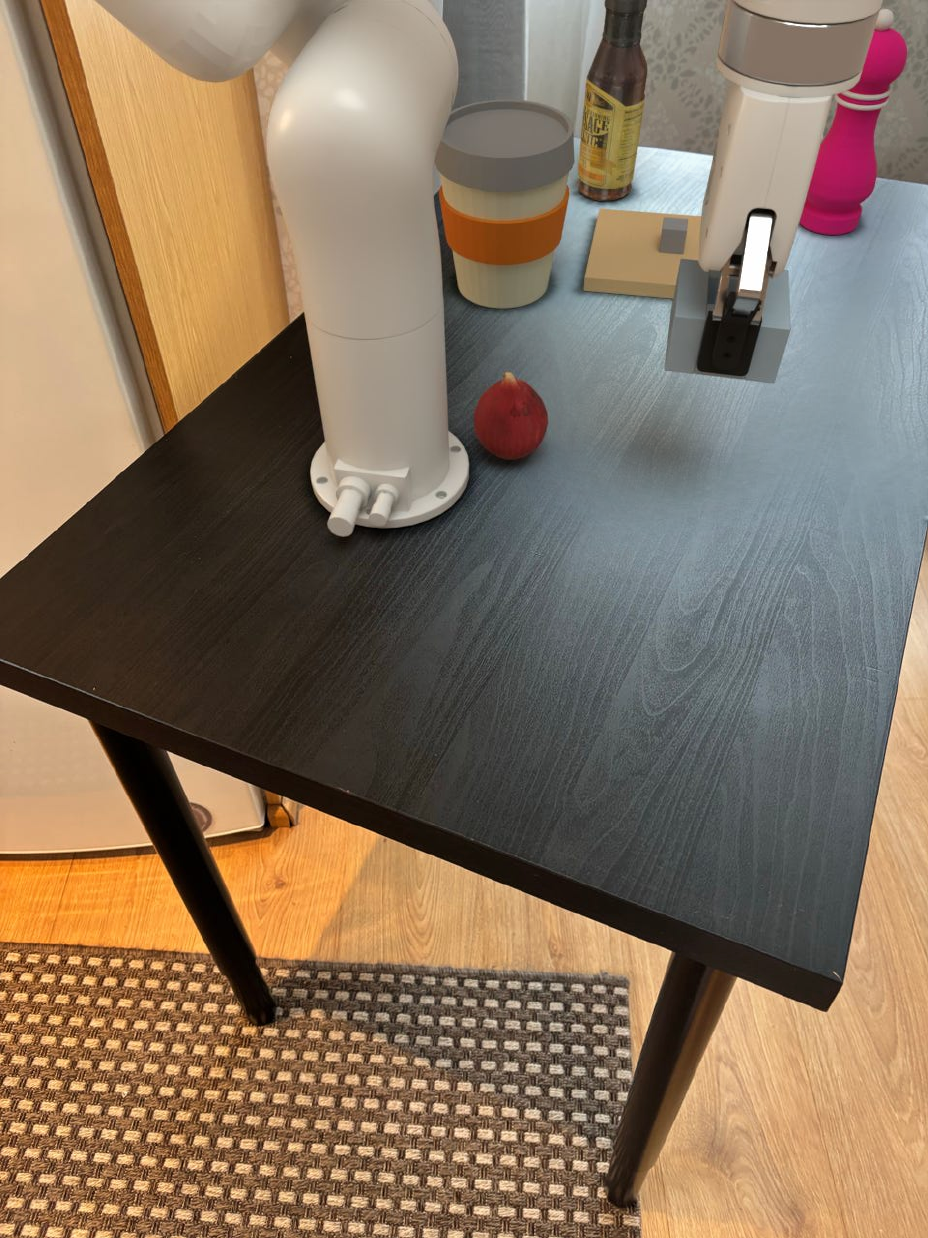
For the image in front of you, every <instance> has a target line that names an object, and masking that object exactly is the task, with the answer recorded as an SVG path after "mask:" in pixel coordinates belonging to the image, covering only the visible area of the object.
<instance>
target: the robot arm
mask: <svg viewBox="0 0 928 1238" xmlns="http://www.w3.org/2000/svg"><path fill="white" fill-rule="evenodd" d="M94 1H95V2H96V3H97V4H98V5H99V6H100V7H101V8H103V9H104V10H105V11H106V12H107V13H109V15H111V16H112V17H113V18H114V19H115V20H116V21H118V22H119V23H120V24H121V25H122V26H123V27H124V28H126V29H127V31H128V32H130V33H131V34H132V35H133V36H134V37H136V38H137V39H138V40H139V41H140V42H141V43H142V44H143V45H145V46H146V47H147V48H148V49H150V50H151V52H153V53H154V54H155V55H157V56H158V57H159V58H160V59H162V61H164V62H165V63H167V64H168V65H169V66H171V67H172V68H174V69H175V70H177V71H178V72H180V73H182V74H184V75H186V76H188V77H190V78H192V79H193V80H197V81H200V82H206V83H215V84H217V83H224V82H228V81H232V80H234V79H237V78H239V77H241V76H243V75H244V74H245V73H247V72H248V71H249V70H251V69H252V68H254V67H256V65H257V64H258V63H259V62H260V61H261V60H262V59H263V57H265V56H266V54H267V53H268V52H270V53H271V54H272V55H274V56H275V57H276V58H277V59H278V60H279V61H280V62H281V63H282V64H284V65H285V66H286V67H287V68H288V69H287V72H285V75H284V77H283V78H282V80H281V82H280V84H279V86H278V89H277V90H276V93H275V96H274V98H273V102H272V105H271V109H270V112H269V116H268V121H267V129H266V158H267V165H268V170H269V176H270V179H271V182H272V187H273V190H274V193H275V196H276V199H277V202H278V205H279V208H280V211H281V214H282V217H283V220H284V223H285V227H286V230H287V233H288V237H289V238H288V239H289V241H290V245H291V249H292V254H293V259H294V264H295V269H296V274H297V280H298V286H299V292H300V297H301V303H302V310H303V313H304V319H305V323H306V324H305V326H306V332H307V337H308V343H309V349H310V357H311V362H312V369H313V374H314V381H315V387H316V393H317V394H316V395H317V401H318V407H319V412H320V417H321V418H320V419H321V425H322V431H323V437H324V442H323V443H321V445H320V446H319V448H318V449H317V450H316V452H315V454H314V456H313V458H312V461H311V465H310V480H311V486H312V489H313V493H314V495H315V497H316V499H317V500H318V502H319V504H321V505H322V507H323V508H324V509H326V510H327V512H329V513H330V515H329V517H328V520H327V523H326V524H327V528H328V530H329V531H330V532H331V533H332V534H334V535H336V536H338V537H342V538H343V537H349V536H350V535H351V534H352V533H353V532H354V529H355V527H356V525H357V526H362V527H366V528H374V529H375V528H377V529H396V528H397V529H398V528H399V529H400V528H404V527H408V526H409V527H410V526H415V525H417V524H420V523H424V522H426V521H427V522H428V521H430V520H431V519H433V518H436V517H438V516H440V515H441V514H443V513H444V512H445V511H447V510H448V509H450V508H451V507H453V506H454V505H455V503H456V502H457V501H458V500H459V499H461V497H462V495H463V493H464V492H465V490H466V488H467V486H468V483H469V479H470V462H469V461H470V460H469V455H468V453H467V450H466V448H465V446H464V444H463V443H462V442H461V440H460V439H459V438H458V437H457V436H456V435H454V433H452V432H451V431H450V430H449V411H448V385H447V383H448V381H447V359H446V333H445V332H446V331H445V306H444V305H445V304H444V295H443V294H444V293H443V271H442V269H443V268H442V267H443V266H442V253H441V244H440V243H441V242H440V235H439V229H438V228H439V227H438V222H437V221H438V220H437V215H436V208H435V195H434V176H435V175H434V174H435V157H436V153H437V150H438V147H439V144H440V142H441V139H442V136H443V133H444V129H445V126H446V124H447V121H448V119H449V116H450V114H451V111H453V107H454V104H455V101H456V96H457V92H458V87H459V74H460V73H459V60H458V54H457V49H456V47H455V43H454V41H453V38H452V35H451V33H450V31H449V29H448V27H447V25H446V23H445V22H444V20H443V18H442V17H441V16H440V14H439V13H438V11H437V10H436V8H435V7H434V5H432V3H431V2H430V1H429V0H94ZM883 2H884V0H726V5H725V9H724V11H725V12H724V16H723V22H722V26H721V31H720V38H719V43H718V48H717V54H716V58H715V59H716V60H715V67H716V70H717V72H718V73H720V74H721V76H722V77H723V78H725V79H726V80H728V81H729V83H728V88H727V91H726V96H725V100H724V104H723V109H722V113H721V117H720V122H719V126H718V132H717V137H716V140H715V141H716V142H715V146H714V151H713V154H712V155H713V156H712V160H711V165H710V171H709V174H708V180H707V182H706V183H707V184H706V188H705V192H704V196H703V200H702V208H701V213H700V214H701V215H700V216H701V225H700V237H699V252H698V263H699V265H700V267H701V268H702V269H703V270H704V271H705V272H709V270H715V271H720V277H719V282H718V288H717V293H716V298H715V304H714V309H713V311H708V315H707V319H706V324H705V328H704V333H703V337H702V342H701V346H700V351H699V355H698V360H697V369H698V370H699V371H700V372H707V373H716V374H724V375H732V376H745V375H747V374H748V371H749V368H750V364H751V360H752V357H753V353H754V349H755V346H756V342H757V338H758V335H759V331H760V327H761V324H762V317H761V316H762V311H763V306H764V301H765V296H766V291H767V286H768V281H769V277H771V279H773V278H775V277H777V276H779V275H780V274H781V273H782V272H783V271H784V270H786V269H785V268H786V266H787V263H788V261H789V258H790V255H791V251H792V248H793V244H794V242H795V238H796V235H797V231H798V228H799V225H800V218H801V215H802V211H803V208H804V204H805V201H806V197H807V193H808V190H809V186H810V182H811V179H812V175H813V171H814V168H815V164H816V160H817V156H818V152H819V149H820V145H821V143H822V141H823V140H824V133H825V129H826V124H827V121H828V117H829V114H830V110H831V105H832V102H833V98H834V96H835V94H839V93H842V92H845V91H847V90H849V89H851V88H853V87H854V86H855V85H856V84H857V83H858V82H859V80H860V77H861V73H862V70H863V66H864V63H865V60H866V56H867V53H868V49H869V46H870V43H871V39H872V36H873V33H874V29H875V26H876V22H877V19H878V16H879V12H880V10H882V9H881V8H882V5H883ZM730 264H734V265H730ZM738 265H741V266H738ZM730 276H734V277H739V278H738V283H737V286H736V289H735V292H733V291H730V293H729V294H728V297H727V290H728V285H729V280H730Z"/></svg>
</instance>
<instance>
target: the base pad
mask: <svg viewBox="0 0 928 1238" xmlns="http://www.w3.org/2000/svg"><path fill="white" fill-rule="evenodd" d="M700 225H701V215H691V214H675V213H665V212H663V213H662V212H651V211H638V210H635V211H634V210H625V209H612V208H611V209H609V208H599V209H598V214H597V218H596V222H595V228H594V230H593V231H594V232H593V236H592V241H591V244H590V245H591V246H590V250H589V255H588V259H587V264H586V269H585V273H584V278H583V288H582V289H583V292H593V293H603V294H604V293H605V294H614V295H627V296H637V297H649V298H660V299H672V300H673V296H674V291H675V285H676V280H677V275H678V270H679V264H680V259H690V260H698V252H699V237H700Z"/></svg>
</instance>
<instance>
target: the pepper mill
mask: <svg viewBox="0 0 928 1238" xmlns="http://www.w3.org/2000/svg"><path fill="white" fill-rule="evenodd" d="M894 20H895V15H894V13H893V11H892V10H891V9H889V8H883V9H880V12H879V16H878V19H877V22H876V26H875V29H874V33H873V36H872V39H871V43H870V46H869V49H868V53H867V56H866V60H865V63H864V66H863V70H862V73H861V77H860V80H859V82H858V83H857V84H856V85H855V86H854V87H853V88H851V89H849V90H847V91H845V92H842V93H839V94H835V95H834V100H835V102H836V103H837V105H836V111H835V115H834V118H833V121H832V124H831V126H830V128H829V130H828V132H827V133H826V135H825V137H823V140H822V142H821V145H820V149H819V152H818V156H817V160H816V164H815V168H814V171H813V175H812V179H811V182H810V186H809V190H808V193H807V197H806V201H805V204H804V208H803V211H802V215H801V218H800V222H799V225H801V226H802V227H803V228H805V229H807V230H808V231H811V232H813V233H816V234H821V235H827V236H840V235H845V234H848V233H851V232H853V231H854V230H856V229H857V228H858V225H859V222H860V219H861V216H862V213H863V206H862V205H861V204H862V203H863V202H865V201H866V200H867V199H868V198H870V196H871V195H872V194H873V193H874V190H875V187H876V181H877V178H878V177H877V176H878V164H877V163H878V162H877V158H876V157H877V156H876V152H875V132H876V127H877V123H878V119H879V117H880V114H881V111H882V109H883V108H884V107H886V106H887V105H888V104H889V102H890V99H889V98H890V95H891V94H892V92H893V91H892V90H893V89H892V86H891V84H892V83H893V82H895V81H896V80H897V79H898V78H899V77H900V76H901V74H902V73H903V72H904V69H905V67H906V64H907V59H908V46H907V42H906V40H905V39H904V37H903V35H902V34H901V33H900V32H899V31H897V30H895V29H894V28H891V27H892V25H893V24H894Z"/></svg>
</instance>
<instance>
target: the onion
mask: <svg viewBox="0 0 928 1238" xmlns="http://www.w3.org/2000/svg"><path fill="white" fill-rule="evenodd" d="M502 375H503V378H502V379H501V380H499V381H496V382H494V383H493V384H491V386H489V387H488V388H487V389H486V390H485V391H483V393H482V394H481V396H480V398H479V400H478V401H477V404H476V405H475V408H474V411H473V417H472V420H473V428H474V433H475V435H476V436H475V437H476V438H477V439H478V441H479V442H480V444H482V446H483V447H484V449H485V450H486V451H488V452H490V453H491V454H493V455H494V456H496V457H497V458H500V459H504V460H511V461H512V460H518V459H521V458H524V457H526V456H527V455H530V454H531V453H532V452H533V451H535V450H536V449H538V448H539V446H540V445H541V444H542V442H543V441H544V439H545V436H546V433H547V430H548V426H549V416H548V415H549V414H548V411H547V408H546V404H545V402H544V401H543V399H542V397H541V396H540V394H538V392H537V391H536V390H535V389H534V388H533V387H532V385H530V384H529V383H528V382H527V381H524V380H521V379H518V378H517V377H515V375H514V373H512V372H510V371H504V372H503V374H502Z"/></svg>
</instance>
